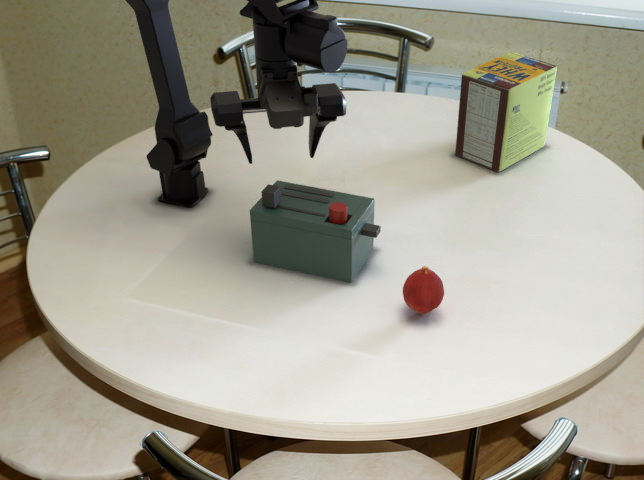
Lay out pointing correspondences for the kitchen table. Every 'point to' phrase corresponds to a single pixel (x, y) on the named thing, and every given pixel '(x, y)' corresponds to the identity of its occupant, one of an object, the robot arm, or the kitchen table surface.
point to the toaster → (314, 232)
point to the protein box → (504, 110)
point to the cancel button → (338, 213)
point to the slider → (271, 196)
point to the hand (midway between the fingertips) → (281, 159)
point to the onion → (423, 290)
